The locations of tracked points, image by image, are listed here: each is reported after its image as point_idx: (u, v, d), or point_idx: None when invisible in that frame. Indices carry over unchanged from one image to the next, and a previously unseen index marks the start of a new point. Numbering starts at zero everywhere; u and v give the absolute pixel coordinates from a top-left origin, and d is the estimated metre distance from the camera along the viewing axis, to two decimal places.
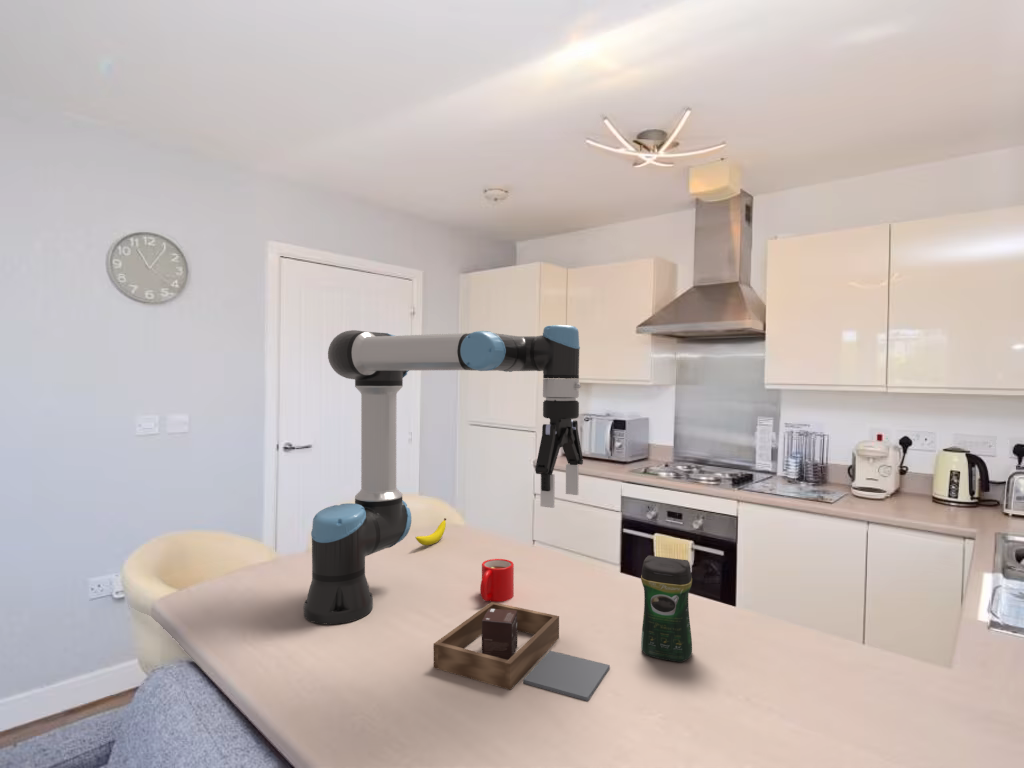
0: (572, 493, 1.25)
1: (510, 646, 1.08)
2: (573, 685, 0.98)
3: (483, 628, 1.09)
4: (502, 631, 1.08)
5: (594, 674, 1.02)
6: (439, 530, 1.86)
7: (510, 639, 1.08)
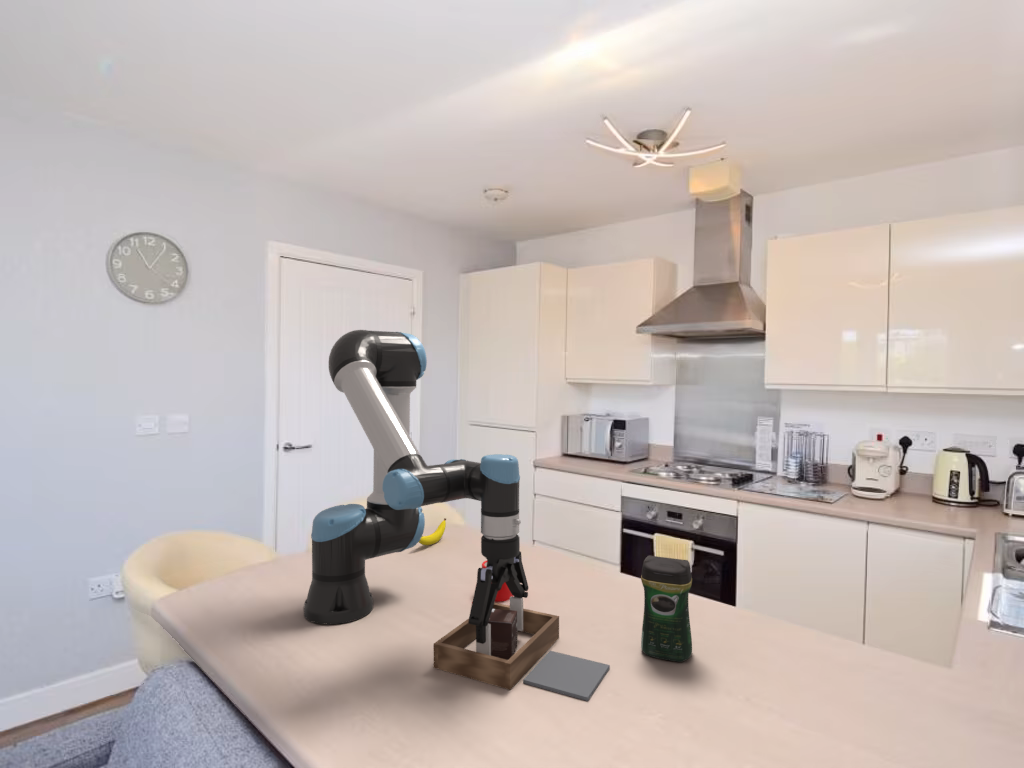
0: None
1: (510, 646, 1.08)
2: (573, 685, 0.98)
3: None
4: (502, 631, 1.08)
5: (594, 674, 1.02)
6: (439, 530, 1.86)
7: (510, 639, 1.08)
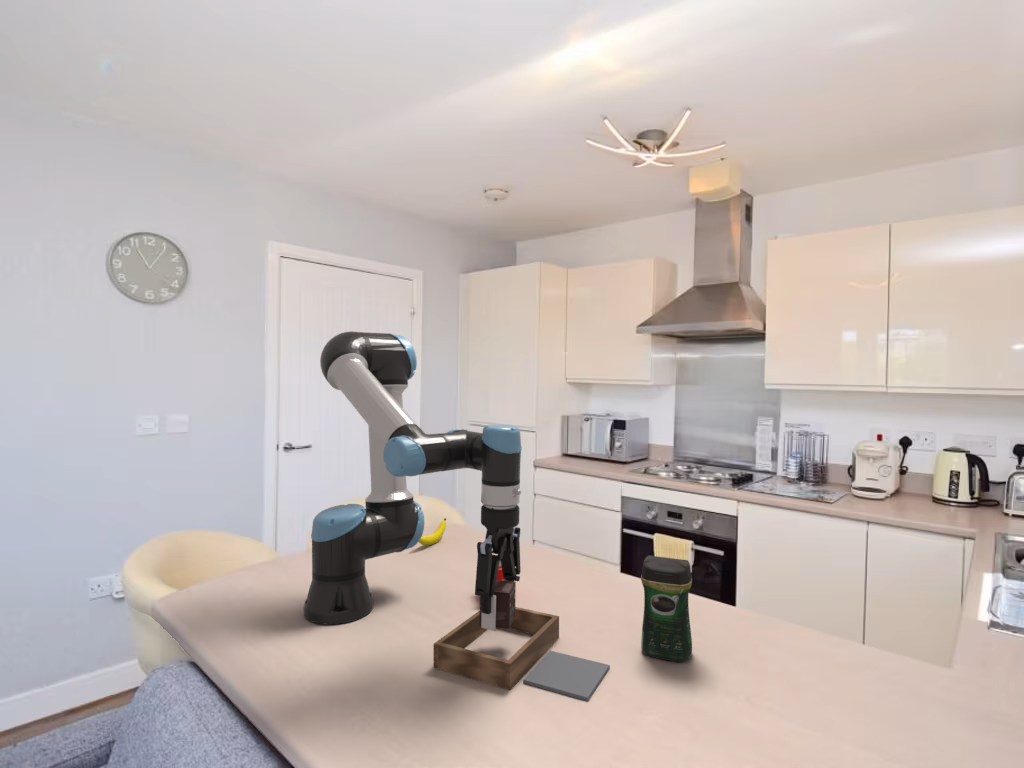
0: None
1: (508, 615, 1.08)
2: (573, 685, 0.98)
3: (481, 597, 1.09)
4: (500, 601, 1.08)
5: (594, 674, 1.02)
6: (439, 530, 1.86)
7: (508, 609, 1.08)
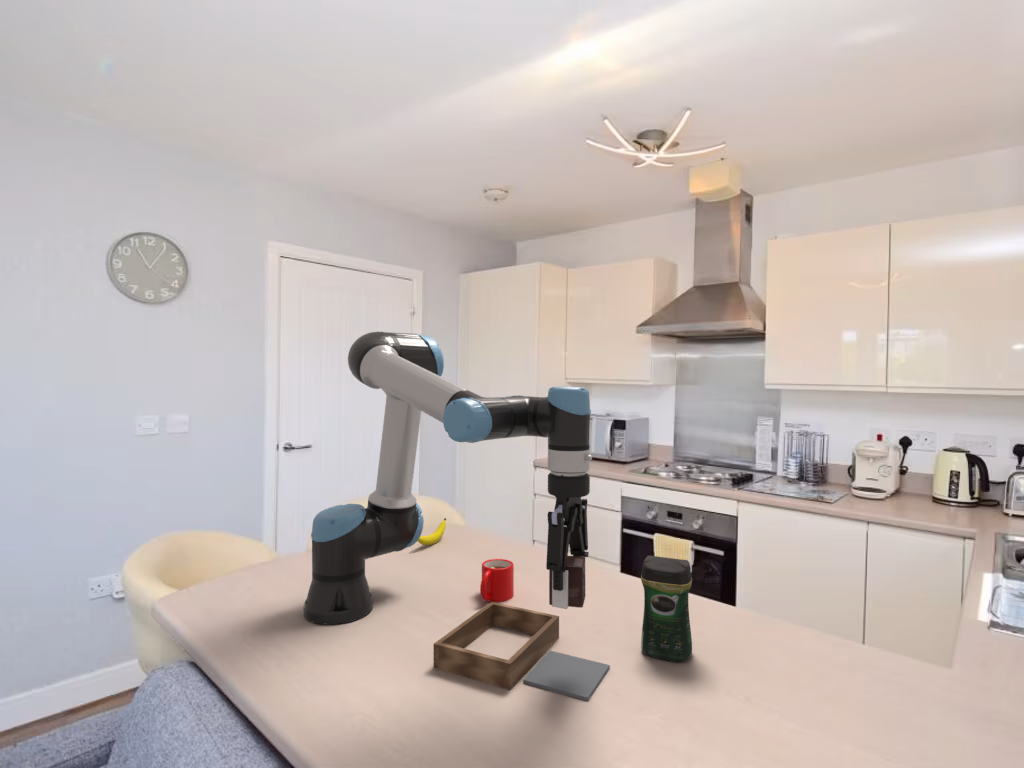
0: None
1: (581, 592, 0.99)
2: (573, 685, 0.98)
3: (551, 573, 1.00)
4: (572, 576, 0.99)
5: (594, 674, 1.02)
6: (439, 530, 1.86)
7: (581, 584, 0.99)
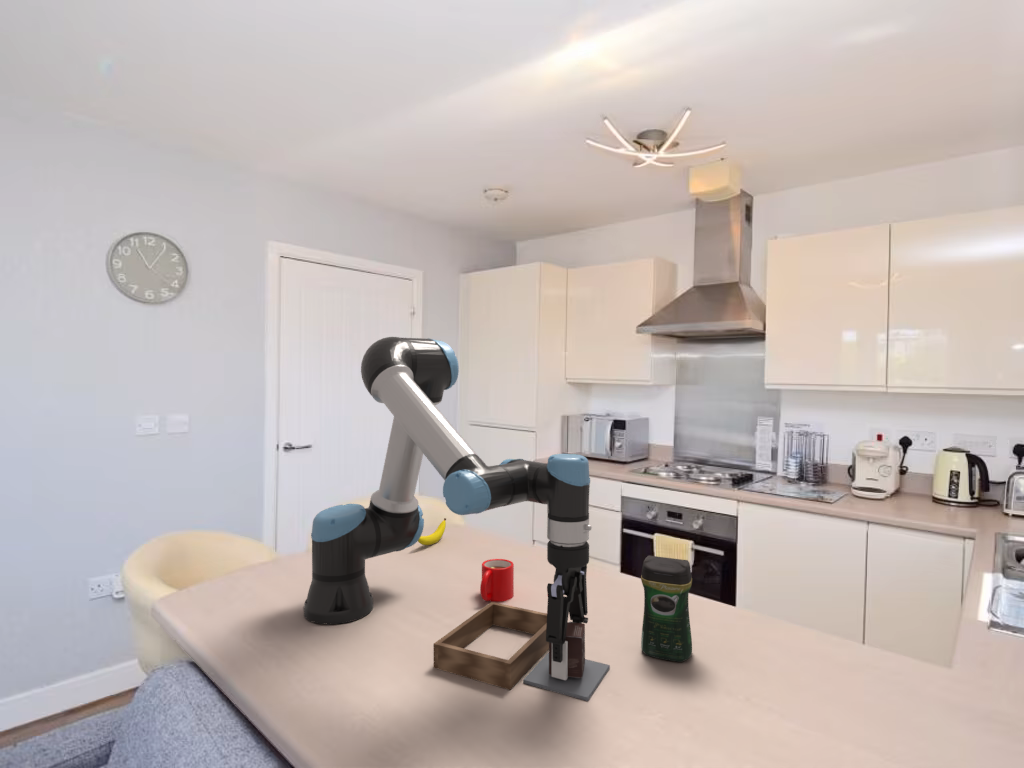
0: None
1: (580, 663, 0.99)
2: (573, 685, 0.98)
3: (550, 643, 1.00)
4: (571, 647, 0.99)
5: (594, 674, 1.02)
6: (439, 530, 1.86)
7: (580, 655, 0.99)
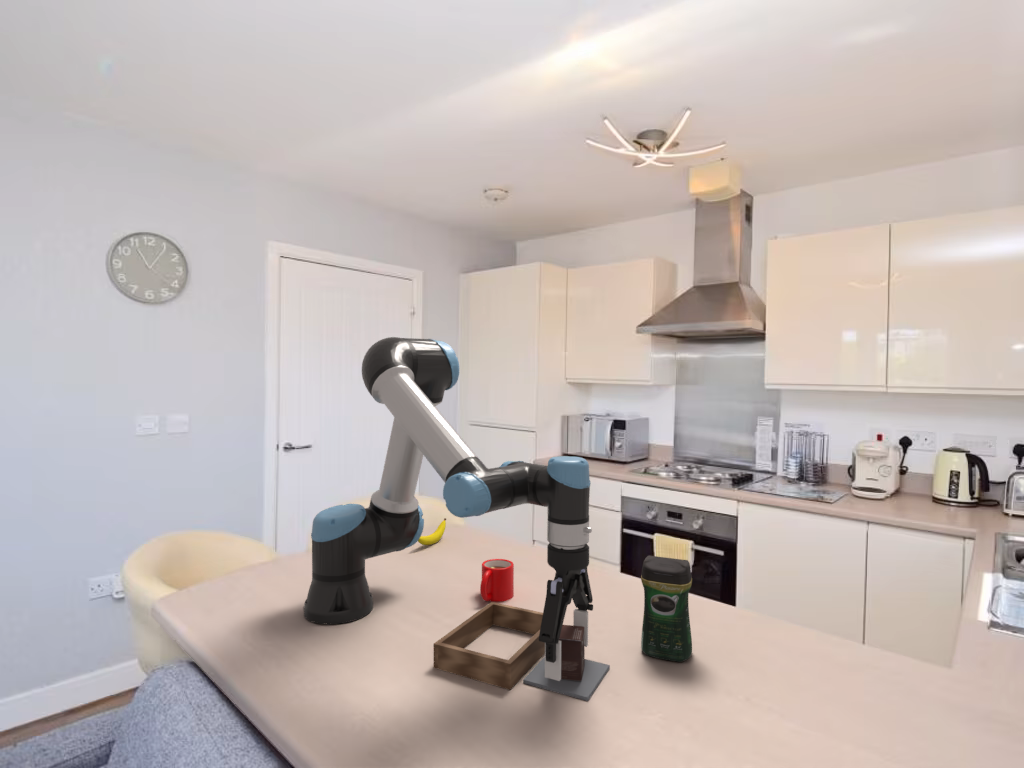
0: None
1: (580, 666, 0.99)
2: (573, 685, 0.98)
3: None
4: (571, 650, 0.99)
5: (594, 674, 1.02)
6: (439, 530, 1.86)
7: (580, 658, 0.99)
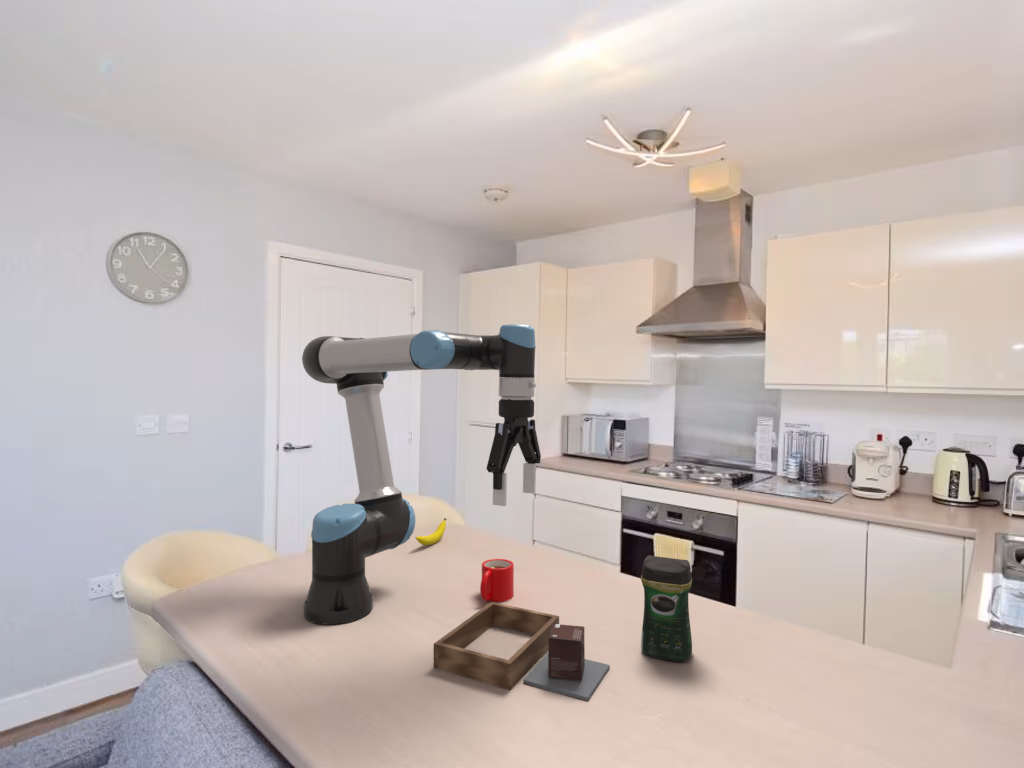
0: (529, 492, 1.25)
1: (580, 666, 0.99)
2: (573, 685, 0.98)
3: (550, 646, 1.00)
4: (571, 650, 0.99)
5: (594, 674, 1.02)
6: (439, 530, 1.86)
7: (580, 658, 0.99)
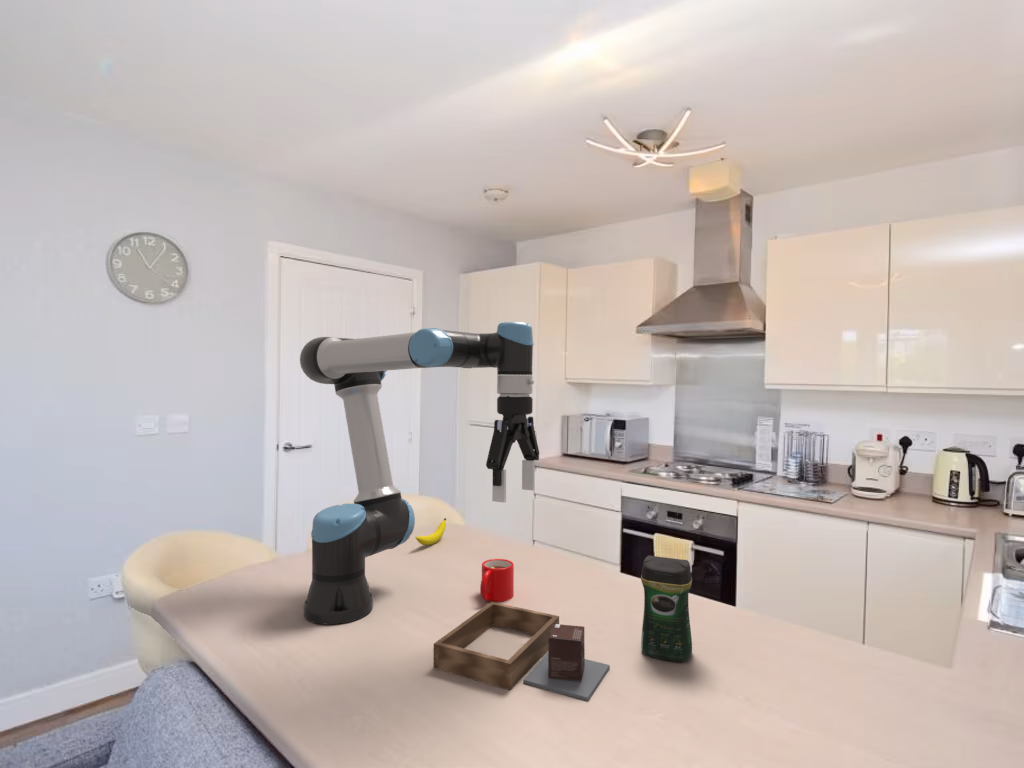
0: (528, 488, 1.26)
1: (580, 666, 0.99)
2: (573, 685, 0.98)
3: (550, 646, 1.00)
4: (571, 650, 0.99)
5: (594, 674, 1.02)
6: (439, 530, 1.86)
7: (580, 658, 0.99)
